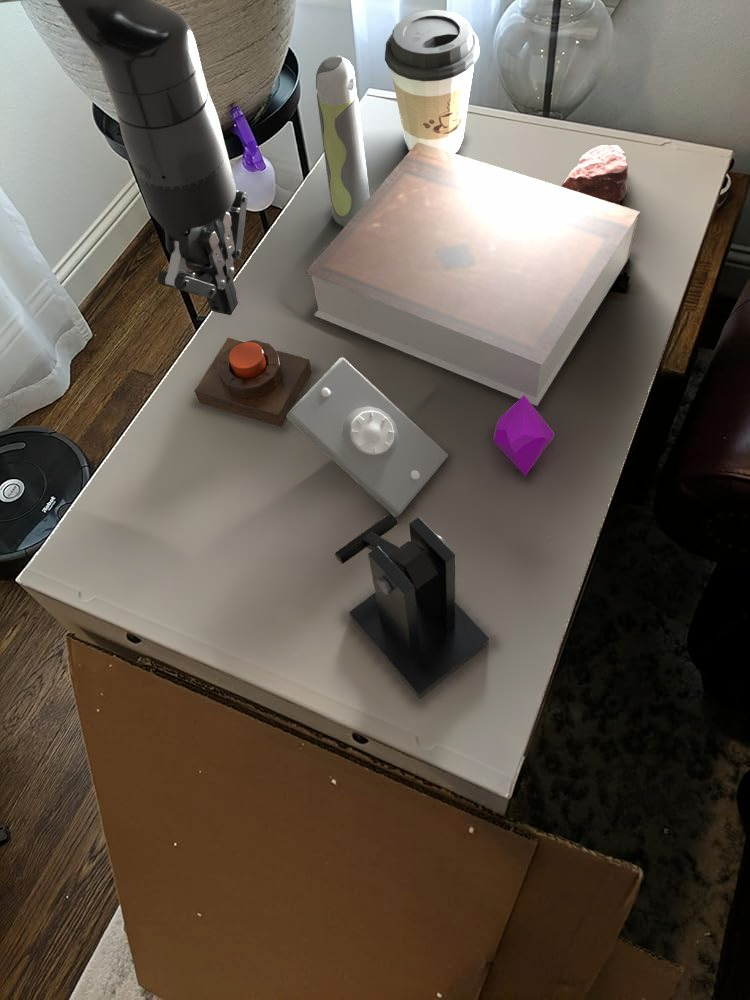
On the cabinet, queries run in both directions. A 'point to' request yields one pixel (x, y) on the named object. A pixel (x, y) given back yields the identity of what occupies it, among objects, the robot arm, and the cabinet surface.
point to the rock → (600, 174)
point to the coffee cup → (432, 76)
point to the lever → (392, 552)
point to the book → (474, 268)
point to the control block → (255, 385)
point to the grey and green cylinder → (342, 138)
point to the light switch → (367, 436)
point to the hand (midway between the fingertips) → (226, 308)
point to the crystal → (522, 434)
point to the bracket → (418, 617)
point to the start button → (247, 360)
